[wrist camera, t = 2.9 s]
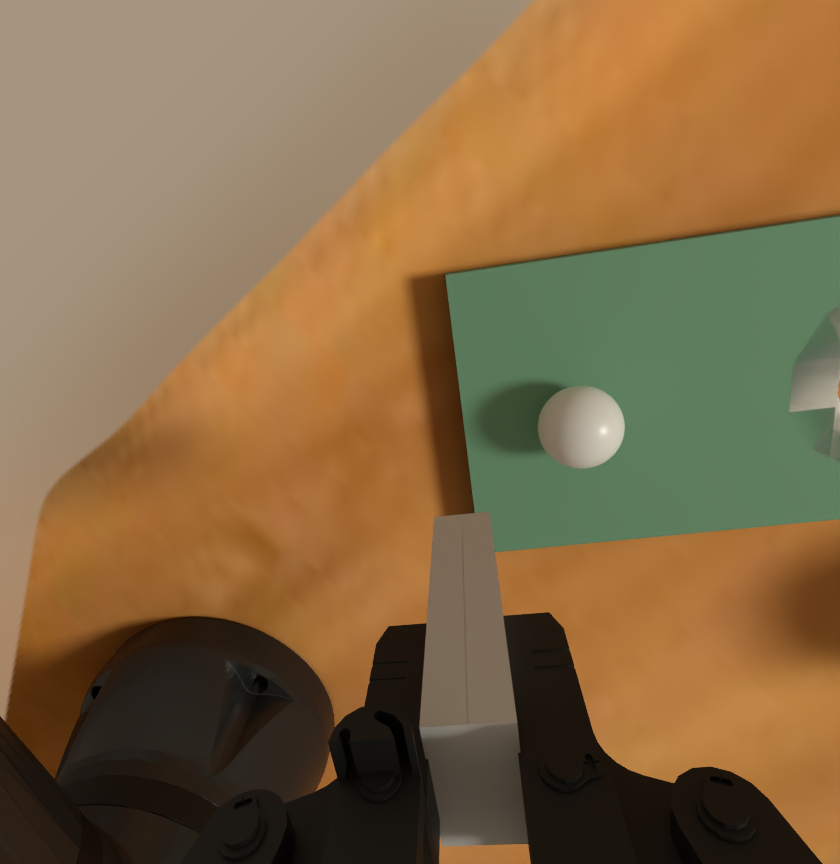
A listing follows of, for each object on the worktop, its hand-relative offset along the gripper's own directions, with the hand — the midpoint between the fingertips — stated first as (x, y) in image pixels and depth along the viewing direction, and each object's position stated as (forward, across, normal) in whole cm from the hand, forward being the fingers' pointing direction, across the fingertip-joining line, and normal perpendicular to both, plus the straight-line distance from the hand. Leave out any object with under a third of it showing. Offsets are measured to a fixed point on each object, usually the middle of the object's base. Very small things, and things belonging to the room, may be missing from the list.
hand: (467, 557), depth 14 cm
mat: (+13, +12, 0) cm, 18 cm away
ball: (+9, +5, 0) cm, 11 cm away
